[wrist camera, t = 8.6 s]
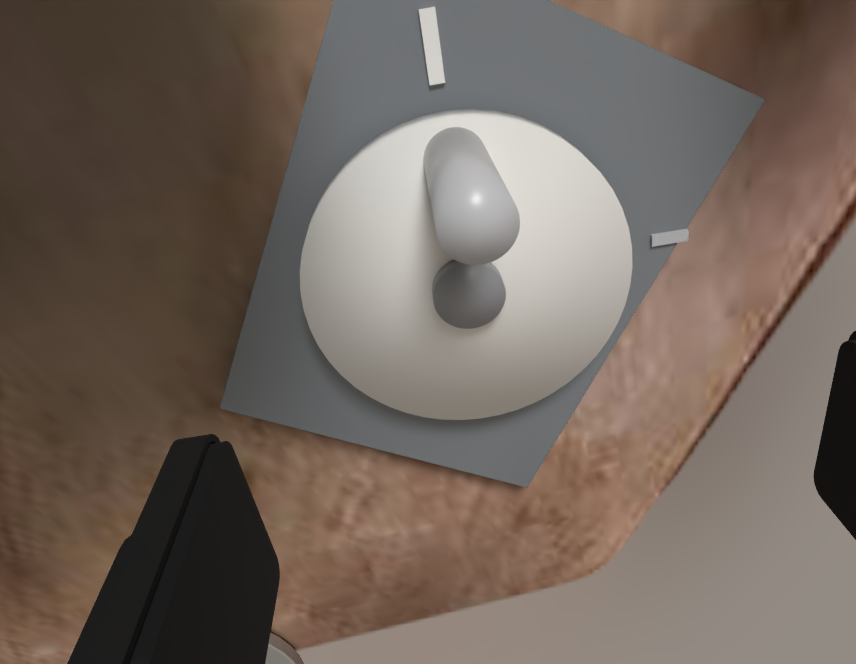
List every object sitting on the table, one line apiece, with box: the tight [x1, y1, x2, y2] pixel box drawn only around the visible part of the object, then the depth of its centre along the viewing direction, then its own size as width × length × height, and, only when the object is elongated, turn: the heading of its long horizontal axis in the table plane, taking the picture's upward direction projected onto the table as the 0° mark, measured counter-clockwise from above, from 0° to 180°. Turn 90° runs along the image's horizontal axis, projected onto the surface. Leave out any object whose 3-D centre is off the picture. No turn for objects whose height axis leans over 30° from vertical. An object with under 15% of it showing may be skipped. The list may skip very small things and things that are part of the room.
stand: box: [220, 0, 765, 487], centre depth 29 cm, size 22×17×2 cm
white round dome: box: [300, 109, 632, 420], centre depth 24 cm, size 14×14×8 cm
